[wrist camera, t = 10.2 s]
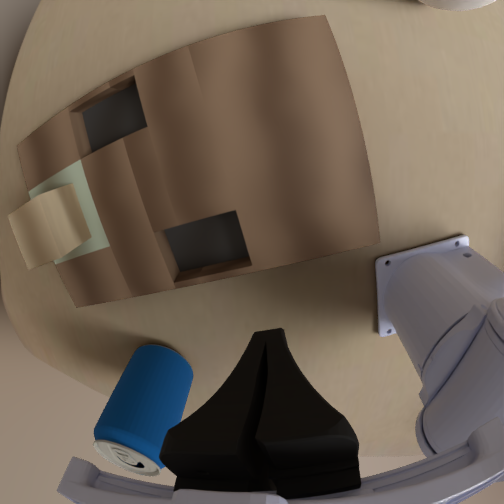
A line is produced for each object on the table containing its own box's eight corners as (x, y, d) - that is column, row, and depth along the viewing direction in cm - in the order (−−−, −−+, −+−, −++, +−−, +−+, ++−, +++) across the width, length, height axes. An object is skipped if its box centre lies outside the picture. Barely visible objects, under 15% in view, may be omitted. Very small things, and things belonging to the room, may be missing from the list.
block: (72, 183, 18) (38, 194, 14) (91, 237, 19) (61, 257, 15) (39, 202, 18) (7, 215, 15) (57, 250, 20) (28, 270, 16)
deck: (320, 25, 14) (325, 15, 12) (371, 233, 20) (380, 242, 18) (31, 143, 18) (17, 145, 16) (86, 297, 24) (76, 307, 22)
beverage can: (147, 381, 28) (111, 468, 17) (127, 338, 25) (73, 430, 14) (201, 385, 27) (176, 483, 16) (186, 340, 25) (146, 449, 14)
